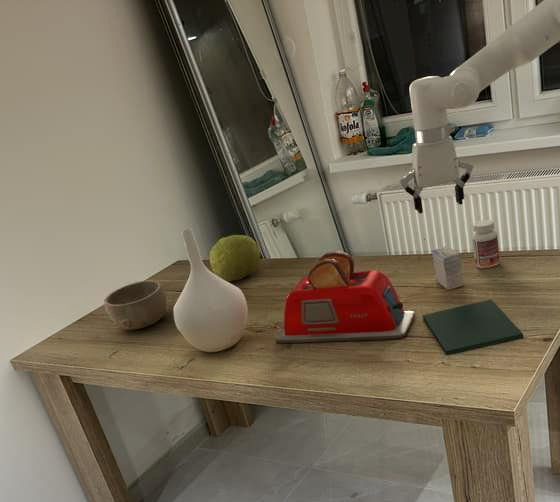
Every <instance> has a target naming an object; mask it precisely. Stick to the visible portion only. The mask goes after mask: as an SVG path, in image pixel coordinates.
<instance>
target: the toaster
mask: <svg viewBox="0 0 560 502" xmlns="http://www.w3.org/2000/svg"><path fill="white" fill-rule="evenodd" d="M283 311H284V312H283V327H282V329H281V331H280V332H279V333H278V334H277V335H276V336H275V337H274V338H275V339H274V340H275V342H277V343H279V344H297V343H303V344H304V343H328V342H329V343H330V342H354V341H379V340H380V341H381V340H383V341H384V340H397V339H398V340H399V339H402V338H403V339H404V338H405V336H406V335H407V333H408V331H409V329H410V326H411V325H412V322H413V321H414V319H415V316H416V312H415V311H412V310H404V304H403V303H402V302H401V301H400V298H399V296H398V294H397V291H396V289H395V287H394V286H393V284H392V282H391V281H390V279H389V277H388V276H387V275H386V274H385V273H383V271H381V270H362V271H355V261H354V258H353V257H352V255H350V254H348V253H346V252H344V251H330V252H326V253H324V254H323V255H321V256H320V257H319V259H318V262H316V264H315V265H313V267H312V268H311V269H310V270H309V273H308V275H307V276H303V277H302V278H301V279H300V280H299V281H298V282H297V284H295V286H294V287H293V289H292V290H291V291H290V292H289V293H288V295H287V296H286V297H285V304H284V310H283Z"/></svg>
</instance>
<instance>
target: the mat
mask: <svg viewBox="0 0 560 502" xmlns="http://www.w3.org/2000/svg"><path fill="white" fill-rule="evenodd" d="M422 319H423V321H424V323H425V324H426V326H427V327H428V329H429V331H430V332H431V333H432V335H433V337H434V338H435V340H436V341H437V343H438V344H439V346H440V348H441V349H442V350H443V353H444V354H445V355H446V356H449V355H453V354H457V353H463V352H466V351H471V350H476V349H480V348H484V347H488V346H494V345H497V344H502V343H506V342H511V341H514V340H519V339H523V338H524V333H523V332H522V330H520V329H519V327H517V325H515V323H514V322H513V321H512V320H511V319H510V318H509V317H508V316H507V315H506V314H505V313H504V312H503V310H502V309H500V307H499V306H498V305H497V304H496V303H495V302H494V300H492V299H486V300H482V301H478V302H474V303H470V304H465V305H460V306H456V307H452V308H447V309H443V310H439V311H435V312H430V313H426V314H422Z"/></svg>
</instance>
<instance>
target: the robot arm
mask: <svg viewBox="0 0 560 502" xmlns="http://www.w3.org/2000/svg"><path fill="white" fill-rule="evenodd" d="M559 42H560V0H542V1H541V2H540V3H538V4H537V5H536V6H534V7H533V8H532V9H531V10H529V11H528V12H527V13H526V14H524V15H523V16H521V17H520V18H519V19H518V20H517V21H515V22H513V24H511V25H510V26H509V27H507V28H506V29H505V30H503V31H502V32H501V33H500V34H499V35H498V36H497V37H495V38H494V39H493V40H492V41H490V42H489V43H488V44H486V45H485V46H483V47H482V48H481V49H480V50H478V51H477V52H476V53H474V55H472V56H470V57H469V58H468V59H467V60H466V61H464V62H463V63H461V64H460V65H459V66H458V67H456V68H455V69H454V70H453V71H452V72H451V73H450V75H447V76H443V77H441V76H439V75H432V76H426V77H421V78H418V79H416V80H413V81H412V82H411V83H410V85H409V97H410V104H411V112H412V119H413V120H412V121H413V131H414V137H415V139H414V140H415V143H413V144H412V148H411V166H412V169H411V171H410V172H408V173H407V174H406V175H405V176H403V177H402V178H401V179H400V180H399V184H400V186H401V187H402V188H403V190H404V191H405V192H406V193H407V194H409V195H410V196H412V198H413V206H414V210H415V211H417V212H418V214H423V213H424V210H423V209H424V208H423V202H422V196H420V194H421V193H422V192H423V189H425V188H430V187H435V186H440V185H444V184H448V183H449V184H450V183H453V182H454V183H455V186H454V194H455V202H456V203H457V204H458V205H464V203H463V202H464V201H463V200H465V193H464V187H465V186H466V183H467V182H468V181H469V179H470V178H471V174H472V173H473V169H474V165H473V164H471V163H468V162H464V161H460V160H458V155H457V150H456V147H455V142H454V139H453V137H452V136H451V133H452V132H455V124H449V122H448V111H447V110H459V109H460V110H461V109H465V108H468V107H470V106H472V105H474V104H475V103H476V101H477V100H478V98H479V95H480V93H481V92H482V91H483V90H485V89H486V88H487V87H489V86H490V85H491V84H492V83H494V82H496V81H497V80H499V78H501V77H502V76H504V75H505V74H508V73H509V72H511V71H512V70H513V71H514V70H515V69H517V68H520V67H524V66H526V65H528V64H530V63H531V62H533V61H535V60H536V59H537V58H538V57H540V56H541V55H542V54H544V53H546V51H548V50H549V49H551V48H552V47H553V46H555V45H556V44H557V43H559ZM460 168H461V169H464V172H463V174H462V175H461V177H460ZM412 180H413V183H414V184H415V185H414V187H413V188H412V187H410V185H409V182H410V181H412Z"/></svg>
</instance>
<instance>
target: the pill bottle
mask: <svg viewBox="0 0 560 502" xmlns="http://www.w3.org/2000/svg"><path fill="white" fill-rule="evenodd" d="M495 228H496V227H495V221H494V220H492V219H481V220H477V221H475V222H474V223H473V224H472V230H473V232H474V233H473V234H472V247H473V255H474V264H475V267H477V268H479V269H490V268H494V267H496V266H498V265H499V264H500V261H501V260H500V250H499V238H498V232H497V231H496V230H495Z"/></svg>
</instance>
